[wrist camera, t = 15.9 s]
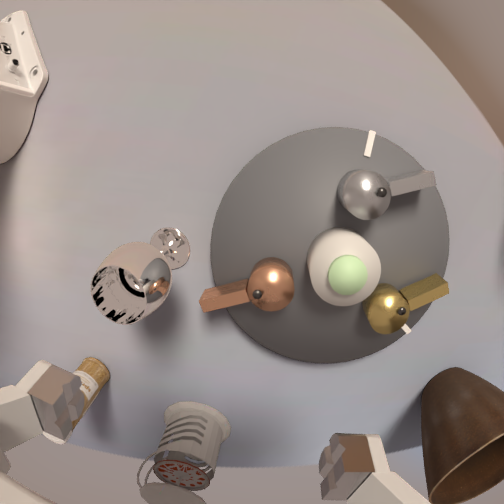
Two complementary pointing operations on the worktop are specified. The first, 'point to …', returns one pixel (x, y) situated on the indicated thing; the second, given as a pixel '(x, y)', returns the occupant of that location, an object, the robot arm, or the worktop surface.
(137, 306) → the wineglass
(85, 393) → the sprinkles bottle
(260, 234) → the tribrach
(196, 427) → the vented spool lamp
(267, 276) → the knob copper
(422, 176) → the knob steel
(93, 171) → the worktop surface
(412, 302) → the knob brass
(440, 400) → the plant pot
